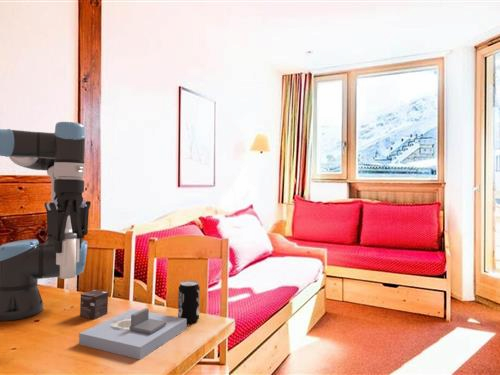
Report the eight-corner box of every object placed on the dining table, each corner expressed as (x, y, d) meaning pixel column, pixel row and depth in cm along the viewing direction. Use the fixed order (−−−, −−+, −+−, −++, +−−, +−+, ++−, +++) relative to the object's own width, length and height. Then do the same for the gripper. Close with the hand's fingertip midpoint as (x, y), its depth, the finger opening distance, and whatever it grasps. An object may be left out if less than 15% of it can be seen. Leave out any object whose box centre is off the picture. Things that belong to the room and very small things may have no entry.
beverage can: (194, 325, 111) (195, 286, 111) (174, 323, 112) (175, 284, 112) (201, 317, 117) (202, 280, 117) (182, 316, 119) (183, 279, 119)
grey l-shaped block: (129, 329, 99) (129, 315, 99) (146, 320, 105) (146, 307, 105) (150, 333, 96) (151, 319, 96) (166, 324, 103) (166, 311, 103)
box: (79, 317, 116) (79, 294, 116) (93, 311, 122) (94, 289, 122) (94, 320, 114) (94, 296, 114) (108, 313, 119) (108, 291, 119)
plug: (55, 277, 100) (56, 234, 99) (68, 274, 103) (69, 232, 103) (66, 279, 98) (67, 235, 98) (79, 276, 102) (80, 233, 102)
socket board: (78, 344, 96) (79, 333, 96) (132, 318, 116) (132, 308, 116) (140, 359, 89) (140, 347, 89) (186, 328, 108) (186, 318, 108)
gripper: (52, 177, 91) (50, 270, 91) (102, 179, 107) (101, 259, 107) (31, 177, 94) (29, 267, 94) (83, 179, 110) (82, 256, 110)
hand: (67, 262), depth 101 cm, fingers closed on plug, 4 cm apart
